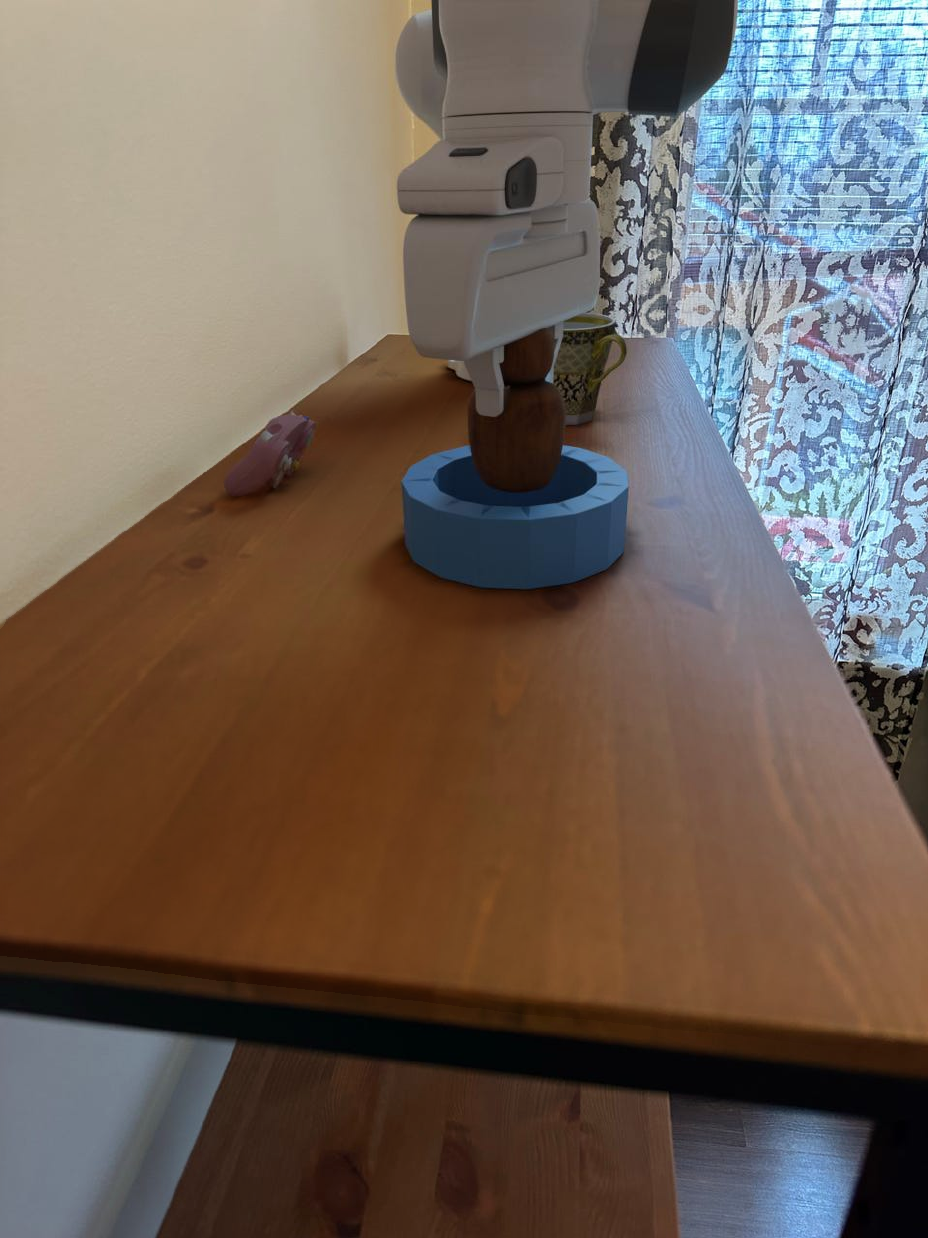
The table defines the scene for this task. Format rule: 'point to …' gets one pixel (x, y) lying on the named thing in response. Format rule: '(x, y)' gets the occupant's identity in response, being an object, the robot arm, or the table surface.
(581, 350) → the ceramic cup
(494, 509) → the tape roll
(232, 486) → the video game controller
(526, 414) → the wooden figurine
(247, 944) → the table surface
